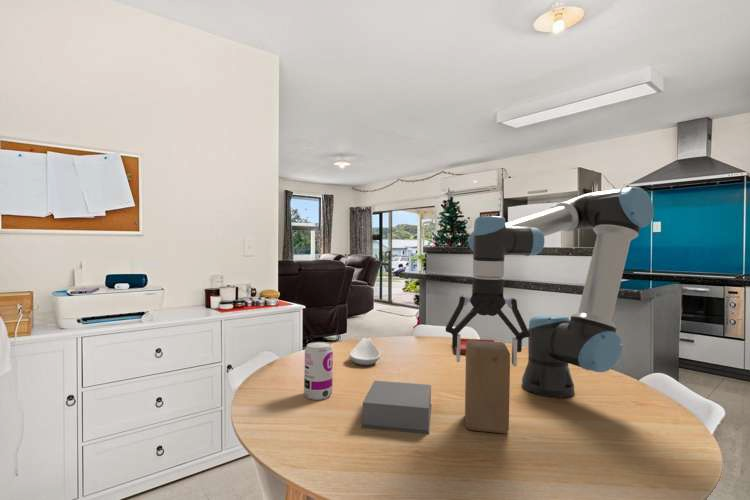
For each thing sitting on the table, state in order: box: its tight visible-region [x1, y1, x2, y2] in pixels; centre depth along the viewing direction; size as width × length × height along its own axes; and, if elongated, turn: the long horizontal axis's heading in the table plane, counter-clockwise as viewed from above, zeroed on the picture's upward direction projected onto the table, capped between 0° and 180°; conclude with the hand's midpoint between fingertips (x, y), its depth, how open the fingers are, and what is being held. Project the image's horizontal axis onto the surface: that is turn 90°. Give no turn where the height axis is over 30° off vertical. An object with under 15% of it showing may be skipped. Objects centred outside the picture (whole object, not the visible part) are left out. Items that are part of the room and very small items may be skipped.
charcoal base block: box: [360, 380, 432, 435], centre depth 101 cm, size 16×16×6 cm
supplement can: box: [303, 341, 334, 401], centre depth 114 cm, size 8×8×15 cm
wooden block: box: [464, 340, 511, 434], centre depth 97 cm, size 10×10×20 cm
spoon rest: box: [349, 337, 381, 366], centre depth 153 cm, size 24×12×7 cm, turn 0°
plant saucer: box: [455, 338, 496, 355], centre depth 168 cm, size 18×18×3 cm
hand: (485, 362), depth 97 cm, fingers open, 13 cm apart
